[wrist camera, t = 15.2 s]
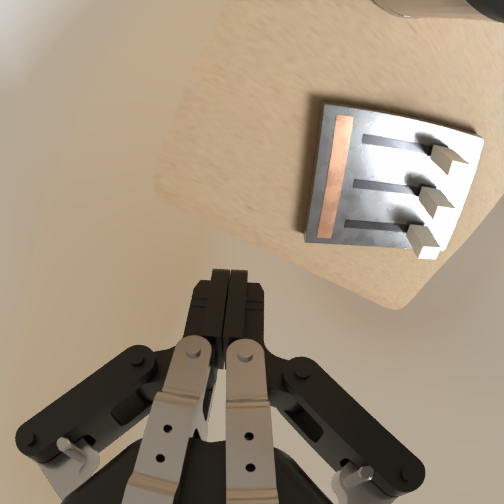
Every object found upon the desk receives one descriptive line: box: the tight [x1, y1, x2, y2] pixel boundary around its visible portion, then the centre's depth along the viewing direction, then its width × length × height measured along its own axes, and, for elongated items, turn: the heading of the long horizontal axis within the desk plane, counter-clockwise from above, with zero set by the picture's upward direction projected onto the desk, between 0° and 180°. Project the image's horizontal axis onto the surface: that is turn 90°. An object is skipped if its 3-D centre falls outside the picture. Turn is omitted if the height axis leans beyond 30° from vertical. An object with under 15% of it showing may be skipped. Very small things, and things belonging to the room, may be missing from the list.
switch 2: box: [430, 145, 471, 180], centre depth 31 cm, size 2×3×5 cm, turn 88°
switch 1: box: [406, 224, 441, 259], centre depth 39 cm, size 2×3×5 cm, turn 88°
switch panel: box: [304, 101, 485, 251], centre depth 38 cm, size 19×23×2 cm
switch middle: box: [418, 186, 456, 222], centre depth 35 cm, size 2×3×5 cm, turn 88°
